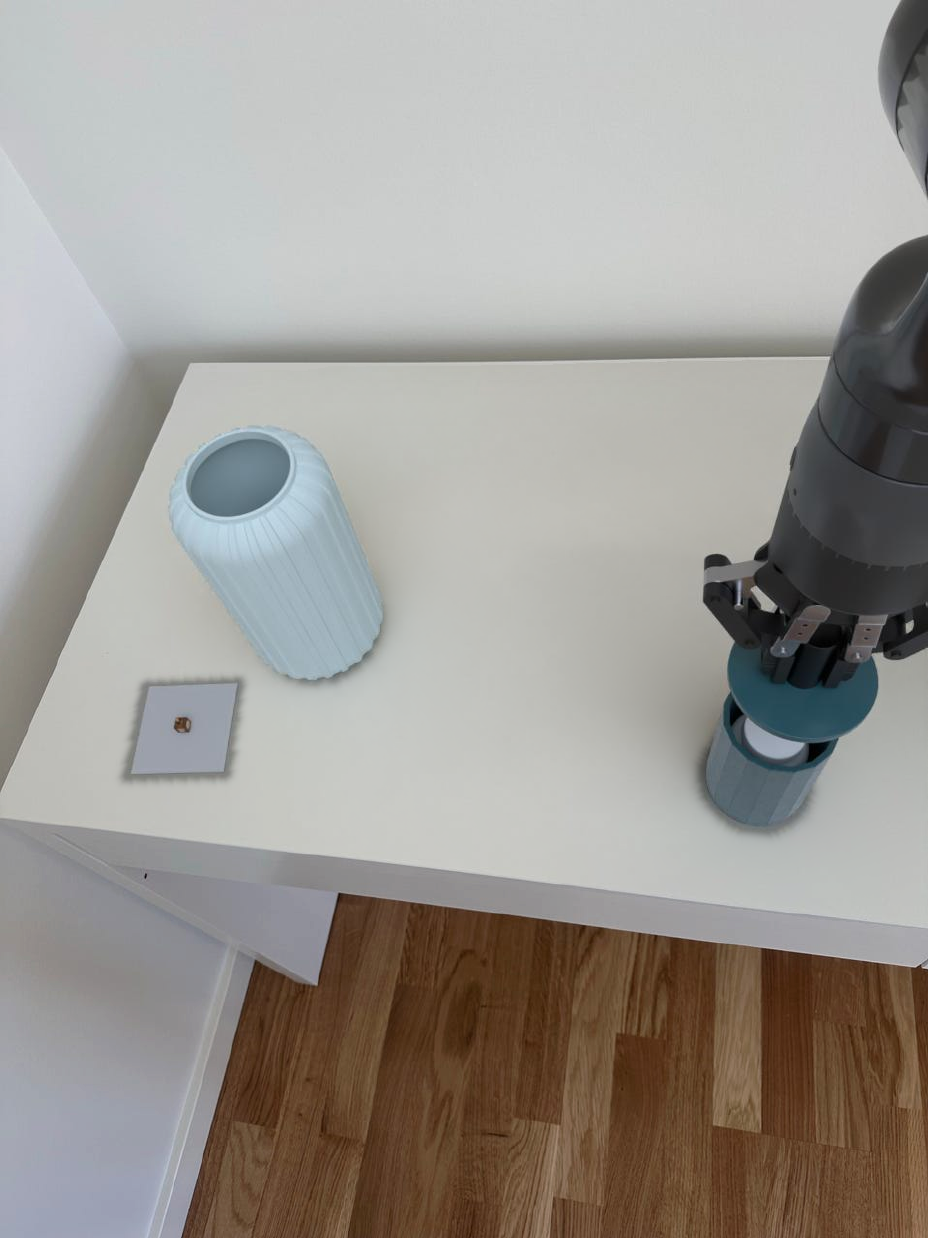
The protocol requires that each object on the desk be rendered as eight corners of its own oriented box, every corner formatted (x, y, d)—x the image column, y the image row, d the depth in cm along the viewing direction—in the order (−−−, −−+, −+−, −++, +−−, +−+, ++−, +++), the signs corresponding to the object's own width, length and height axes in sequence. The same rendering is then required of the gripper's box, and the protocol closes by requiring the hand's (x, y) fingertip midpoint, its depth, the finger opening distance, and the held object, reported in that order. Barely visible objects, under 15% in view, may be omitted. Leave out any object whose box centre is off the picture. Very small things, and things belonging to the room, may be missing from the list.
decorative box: (223, 771, 75) (215, 763, 73) (130, 774, 76) (120, 766, 74) (237, 683, 79) (230, 673, 77) (149, 686, 80) (139, 677, 78)
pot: (804, 739, 70) (838, 672, 60) (806, 831, 66) (842, 777, 56) (706, 730, 71) (724, 664, 61) (704, 820, 68) (722, 766, 58)
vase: (321, 717, 76) (227, 575, 57) (234, 641, 81) (120, 486, 62) (416, 622, 79) (357, 458, 60) (327, 555, 84) (246, 382, 65)
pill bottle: (701, 762, 69) (716, 710, 61) (764, 733, 70) (787, 677, 61) (741, 826, 67) (761, 781, 58) (805, 795, 67) (835, 746, 59)
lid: (868, 624, 55) (898, 569, 50) (877, 754, 51) (910, 709, 46) (726, 615, 57) (740, 560, 51) (724, 740, 53) (739, 694, 47)
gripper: (709, 552, 37) (677, 720, 52) (1084, 573, 35) (937, 743, 50) (713, 412, 41) (681, 607, 56) (1053, 422, 38) (925, 623, 53)
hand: (802, 670), depth 53 cm, fingers closed on lid
